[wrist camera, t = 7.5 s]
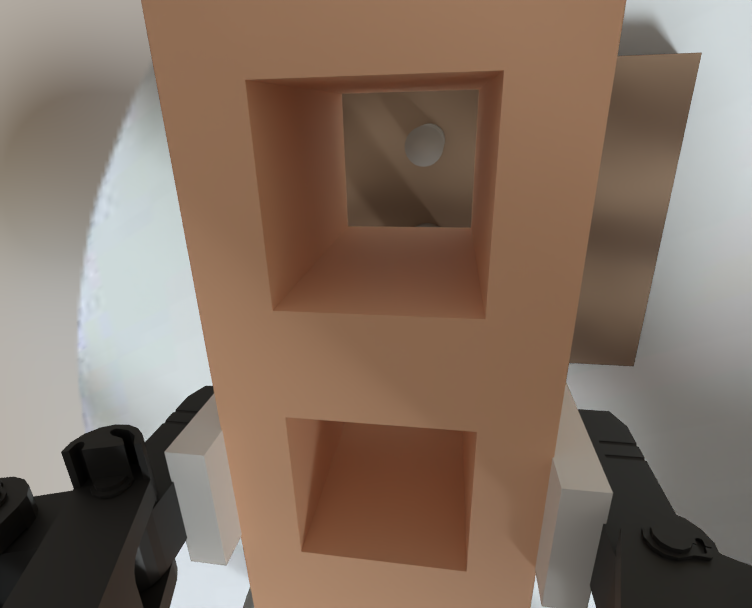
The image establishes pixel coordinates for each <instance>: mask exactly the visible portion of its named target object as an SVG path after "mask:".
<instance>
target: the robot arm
mask: <svg viewBox="0 0 752 608" xmlns="http://www.w3.org/2000/svg"><path fill="white" fill-rule="evenodd" d="M61 453H62V456H63V459H64V462H65V465H66V468H67V470H68V473H69V476H70V479H71V482H72V485H73V488H74V489H73V491H67V492H61V493H54V494H47V495H41V496H35V497H33V495H32V492H31V490H30V487H29V485H28V484H27V482H26V481H25V480H24V479H21V478H17V477H6V478H0V608H170V604H171V600H172V596H173V593H174V589H175V585H176V581H177V565H176V561H175V557H176V556H177V554H178V552H179V551H180V549H181V547H182V546H183V544H184V543H185V541H186V543H187V547H188V551H189V555H190V559H191V561H194V562H202V563H210V564H218V565H227V563H228V561H229V559H230V557H231V555H232V553H233V551H234V549H235V547H236V545H237V543H238V541H239V539H240V537H241V535H242V533H241V528H240V523H239V517H238V512H237V506H236V501H235V496H234V490H233V485H232V479H231V474H230V469H229V463H228V458H227V452H226V447H225V442H224V436H223V431H222V430H221V426H220V421H219V416H218V410H217V405H216V400H215V394H214V389H213V386H205V387H203V388H201V389H200V390H198V391H196V392H195V393H193V394H191V395H190V396H188V397H187V398H186V399H185V400H184V401H183V402H182V403H181V404H180V406H179V407H178V408H177V409H176V412H173V413H172V414H171V415H170V416H169V417H168V418H167V419H166V422H165V423H163V424H162V425H161V426H160V427H159V428H158V429H157V430H156V431H155V432H154V433H153V435H152V436H151V437H150V438H149V439H148V440H147V441H146V442H144V439H143V435H142V433H141V432H140V430H139V429H138V428H136V427H133V426H130V425H111V426H106V427H101V428H98V429H96V430H93V431H91V432H88V433H86V434H84V435H82V436H80V437H79V438H77V439H75V440H74V441H72V442H71V443H70V444H69V445H68V446H67V447H66V448H65V449H64V450H63V451H62V452H61ZM535 572H536V577H537V583H538V588H539V594H540V599H541V605H542V606H544V607H551V608H587V607H588V603H589V598H590V594H591V591H592V595H593V598H594V602H595V605H596V608H752V566H751V565H748V564H745V563H742V562H739V561H737V560H734V559H732V558H729V557H727V556H724V555H722V554H721V553H719V552H718V550H717V548H716V545H715V543H714V542H713V541H712V540H711V539H710V538H709V537H708V536H707V535H706V534H705V533H704V532H703V531H702V530H701V529H700V528H698V527H697V526H695V525H694V524H692V523H691V522H689V521H688V520H686V519H685V518H683V517H680V516H678V515H676V514H675V512H674V510H673V508H672V506H671V505H670V503H669V501H668V499H667V497H666V496H665V494H664V492H663V490H662V488H661V487H660V485H659V483H658V481H657V479H656V478H655V476H654V474H653V472H652V470H651V469H650V467H649V465H648V463H647V461H644V456H643V454H642V452H641V451H640V449H639V447H637V446H636V442H635V440H634V438H633V436H632V435H631V433H630V431H629V429H628V427H627V426H626V425H625V424H623V423H622V422H621V421H620V420H619V419H618V418H616V417H615V416H614V415H613V414H612V413H610V412H609V411H595V410H580V409H577V407H576V404H575V402H574V400H573V397H572V395H571V393H570V390H569V388H568V385H567V383H566V385H565V391H564V398H563V404H562V410H561V417H560V423H559V429H558V436H557V442H556V448H555V455H554V457H553V458H552V464H551V471H550V477H549V483H548V490H547V496H546V503H545V509H544V515H543V522H542V528H541V535H540V541H539V547H538V554H537V560H536V567H535Z"/></svg>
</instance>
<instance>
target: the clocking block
mask: <svg viewBox="0 0 752 608" xmlns="http://www.w3.org/2000/svg"><path fill="white" fill-rule="evenodd" d="M141 2H142V7H143V13H144V19H145V24H146V29H147V35H148V40H149V45H150V51H151V56H152V61H153V67H154V72H155V78H156V83H157V88H158V94H159V99H160V104H161V110H162V115H163V121H164V126H165V131H166V137H167V142H168V147H169V153H170V158H171V163H172V169H173V174H174V180H175V185H176V190H177V196H178V201H179V206H180V212H181V217H182V222H183V228H184V233H185V239H186V244H187V249H188V255H189V260H190V265H191V271H192V276H193V281H194V287H195V292H196V298H197V303H198V308H199V314H200V319H201V324H202V330H203V335H204V341H205V346H206V351H207V357H208V362H209V367H210V373H211V378H212V383H213V389H214V394H215V400H216V405H217V410H218V416H219V421H220V426H221V430H222V431H223V436H224V442H225V447H226V452H227V458H228V463H229V469H230V474H231V479H232V485H233V490H234V496H235V501H236V506H237V512H238V517H239V523H240V528H241V533H242V535H241V539H242V544H243V550H244V555H245V560H246V566H247V571H248V577H249V582H250V587H251V593H252V598H253V603H254V608H530V607H531V600H532V594H533V588H534V581H535V575H536V572H535V567H536V560H537V554H538V547H539V541H540V535H541V528H542V522H543V515H544V509H545V503H546V496H547V490H548V483H549V477H550V471H551V464H552V458H553V457H554V455H555V448H556V442H557V436H558V429H559V423H560V417H561V410H562V404H563V398H564V391H565V385H566V379H567V372H568V366H569V360H570V353H571V347H572V341H573V334H574V328H575V322H576V315H577V309H578V303H579V296H580V290H581V284H582V277H583V271H584V265H585V258H586V252H587V246H588V239H589V233H590V227H591V220H592V214H593V208H594V201H595V195H596V189H597V182H598V176H599V170H600V163H601V157H602V151H603V144H604V138H605V132H606V125H607V119H608V113H609V106H610V100H611V94H612V87H613V81H614V75H615V68H616V62H617V56H618V49H619V43H620V37H621V30H622V24H623V18H624V11H625V5H626V0H141ZM477 89H479V96H478V114H477V131H476V149H475V167H474V184H473V202H472V219H471V228H455V227H374V226H348V213H347V192H346V171H345V149H344V128H343V107H342V94H349V93H381V92H413V91H445V90H477Z"/></svg>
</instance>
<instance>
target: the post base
mask: <svg viewBox="0 0 752 608" xmlns="http://www.w3.org/2000/svg"><path fill="white" fill-rule="evenodd" d="M701 54H702V53H681V54H656V55H631V56H617V62H616V68H615V75H614V81H613V87H612V94H611V100H610V106H609V113H608V119H607V125H606V132H605V138H604V144H603V151H602V157H601V163H600V170H599V176H598V182H597V189H596V195H595V201H594V208H593V214H592V220H591V227H590V233H589V239H588V246H587V252H586V258H585V265H584V271H583V277H582V284H581V290H580V296H579V303H578V309H577V315H576V322H575V328H574V334H573V341H572V347H571V353H570V360H569V363H581V364H600V365H619V366H634V362H635V357H636V353H637V348H638V344H639V339H640V334H641V330H642V325H643V321H644V316H645V311H646V307H647V302H648V298H649V293H650V288H651V284H652V279H653V275H654V270H655V265H656V261H657V256H658V252H659V247H660V242H661V238H662V233H663V229H664V224H665V219H666V215H667V210H668V206H669V201H670V197H671V192H672V187H673V183H674V178H675V174H676V169H677V164H678V160H679V155H680V151H681V146H682V141H683V137H684V132H685V128H686V123H687V118H688V114H689V109H690V105H691V100H692V95H693V91H694V86H695V82H696V77H697V72H698V68H699V63H700V59H701ZM478 96H479V89H477V90H445V91H413V92H381V93H349V94H342V107H343V128H344V149H345V171H346V192H347V213H348V226H374V227H455V228H471V219H472V202H473V184H474V167H475V149H476V131H477V114H478Z"/></svg>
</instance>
